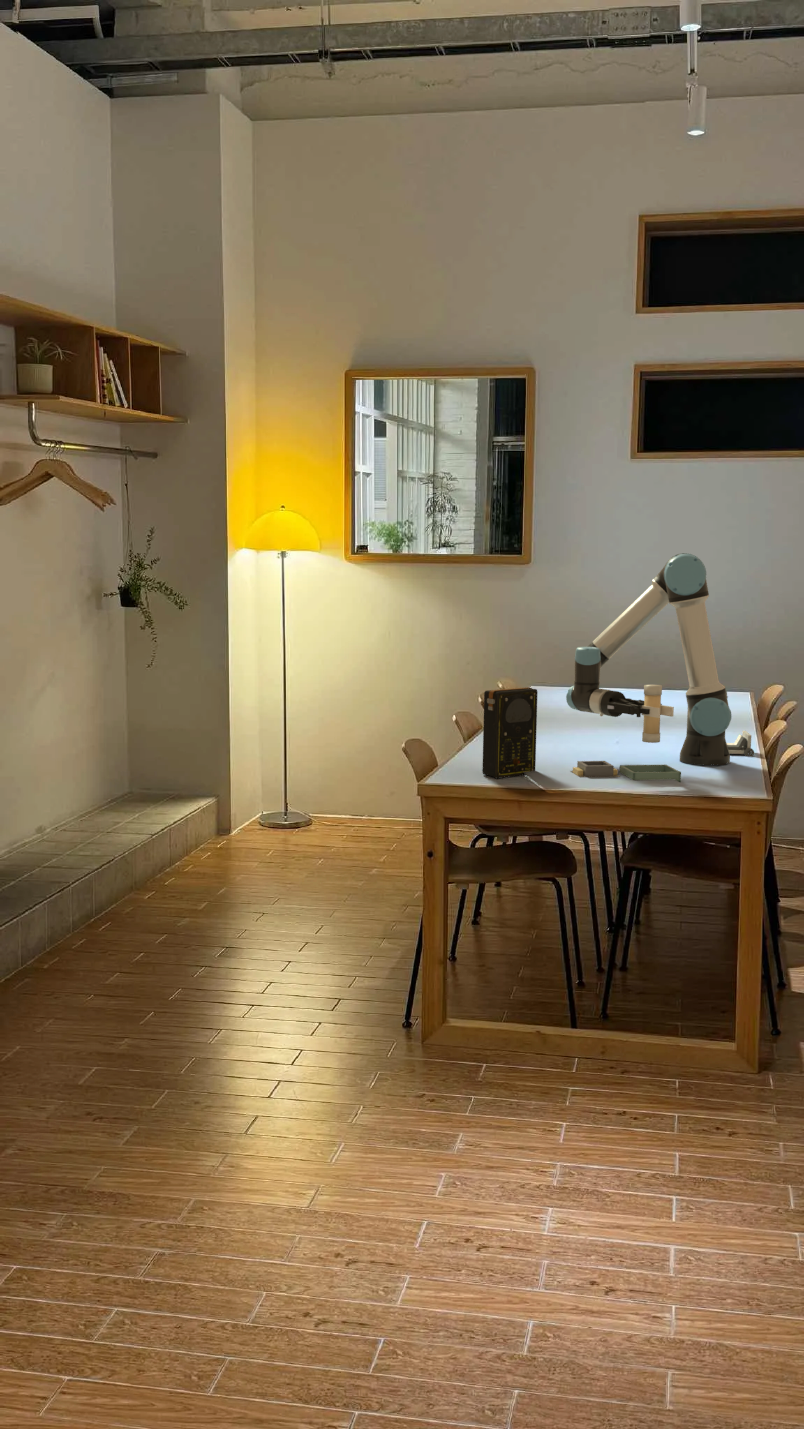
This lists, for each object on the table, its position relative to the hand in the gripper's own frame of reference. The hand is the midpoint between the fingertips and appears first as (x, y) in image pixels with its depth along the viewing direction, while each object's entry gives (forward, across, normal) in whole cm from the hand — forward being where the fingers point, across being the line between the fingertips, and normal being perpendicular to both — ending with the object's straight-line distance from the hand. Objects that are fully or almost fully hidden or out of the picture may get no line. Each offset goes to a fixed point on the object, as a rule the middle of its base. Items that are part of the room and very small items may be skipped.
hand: (665, 712), depth 371 cm
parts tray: (-5, 0, -20) cm, 21 cm away
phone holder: (-27, -53, -21) cm, 63 cm away
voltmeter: (-31, +31, -20) cm, 48 cm away
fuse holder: (-15, +12, -20) cm, 28 cm away
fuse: (-5, 0, -9) cm, 10 cm away
